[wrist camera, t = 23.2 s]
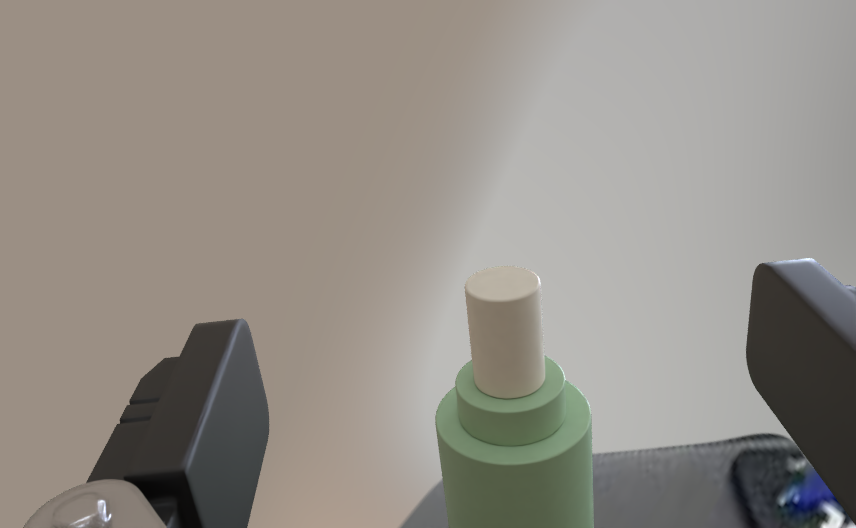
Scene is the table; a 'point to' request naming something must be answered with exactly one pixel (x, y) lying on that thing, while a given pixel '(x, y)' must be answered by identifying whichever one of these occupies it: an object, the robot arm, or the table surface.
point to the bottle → (513, 418)
